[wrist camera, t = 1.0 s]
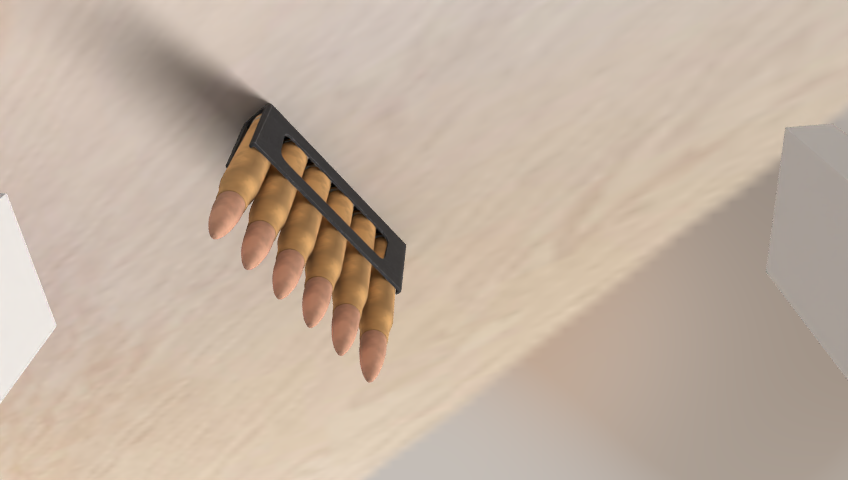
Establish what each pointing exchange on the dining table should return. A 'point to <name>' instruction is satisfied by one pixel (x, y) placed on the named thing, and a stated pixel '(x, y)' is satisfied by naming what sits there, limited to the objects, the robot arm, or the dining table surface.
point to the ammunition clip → (312, 234)
